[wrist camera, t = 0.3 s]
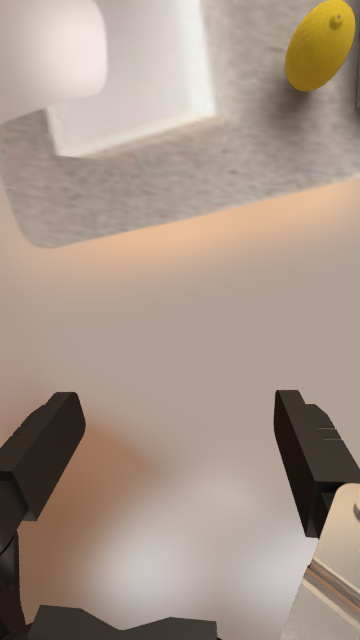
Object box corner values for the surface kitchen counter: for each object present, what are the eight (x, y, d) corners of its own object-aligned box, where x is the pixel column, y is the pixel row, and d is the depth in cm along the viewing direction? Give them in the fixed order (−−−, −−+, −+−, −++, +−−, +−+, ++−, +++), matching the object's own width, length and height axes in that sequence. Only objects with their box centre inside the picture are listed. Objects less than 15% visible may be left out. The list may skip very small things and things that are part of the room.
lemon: (332, 89, 29) (381, 35, 21) (284, 115, 30) (314, 72, 22) (319, 33, 28) (365, -46, 20) (269, 62, 29) (295, -3, 21)
